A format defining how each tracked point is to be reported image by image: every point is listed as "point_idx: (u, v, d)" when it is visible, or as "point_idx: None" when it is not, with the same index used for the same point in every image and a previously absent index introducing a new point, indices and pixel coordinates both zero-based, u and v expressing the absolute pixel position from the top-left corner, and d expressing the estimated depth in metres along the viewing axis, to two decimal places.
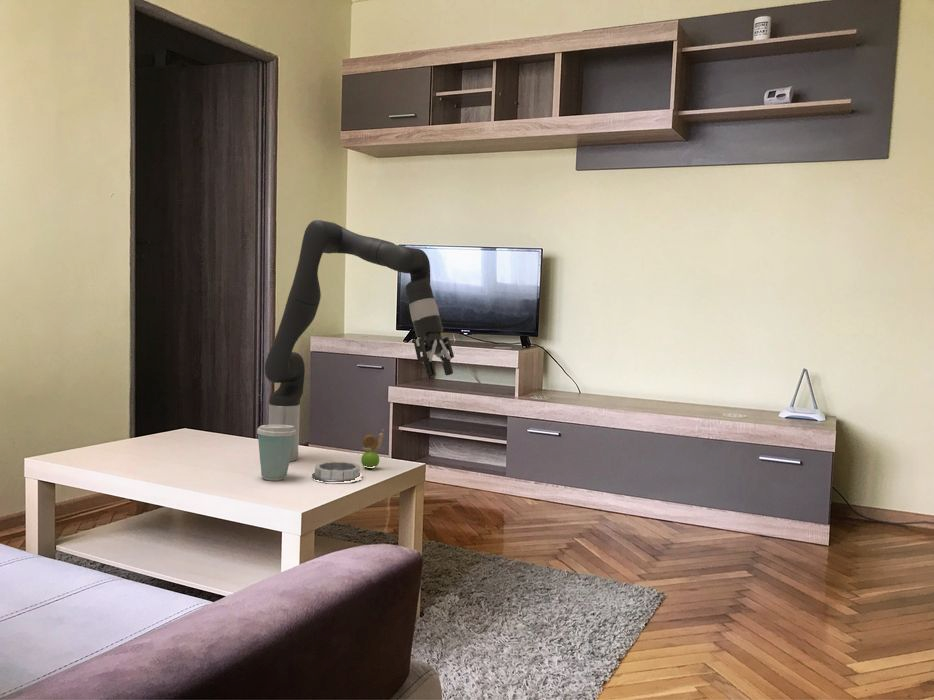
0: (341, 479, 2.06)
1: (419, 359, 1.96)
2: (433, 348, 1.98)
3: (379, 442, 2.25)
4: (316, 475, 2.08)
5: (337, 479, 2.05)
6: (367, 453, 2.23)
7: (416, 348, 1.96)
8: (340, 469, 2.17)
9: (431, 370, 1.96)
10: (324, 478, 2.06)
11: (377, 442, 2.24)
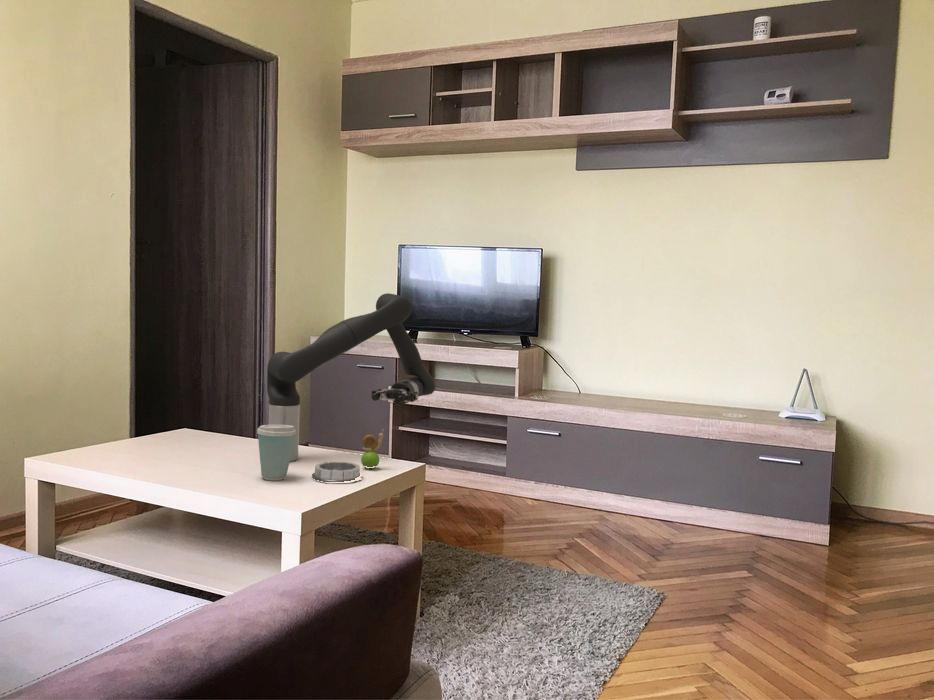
0: (341, 479, 2.06)
1: (413, 395, 2.37)
2: None
3: (379, 442, 2.25)
4: (316, 475, 2.08)
5: (337, 479, 2.05)
6: (367, 453, 2.23)
7: (416, 394, 2.40)
8: (340, 469, 2.17)
9: (403, 401, 2.34)
10: (324, 478, 2.06)
11: (377, 442, 2.24)
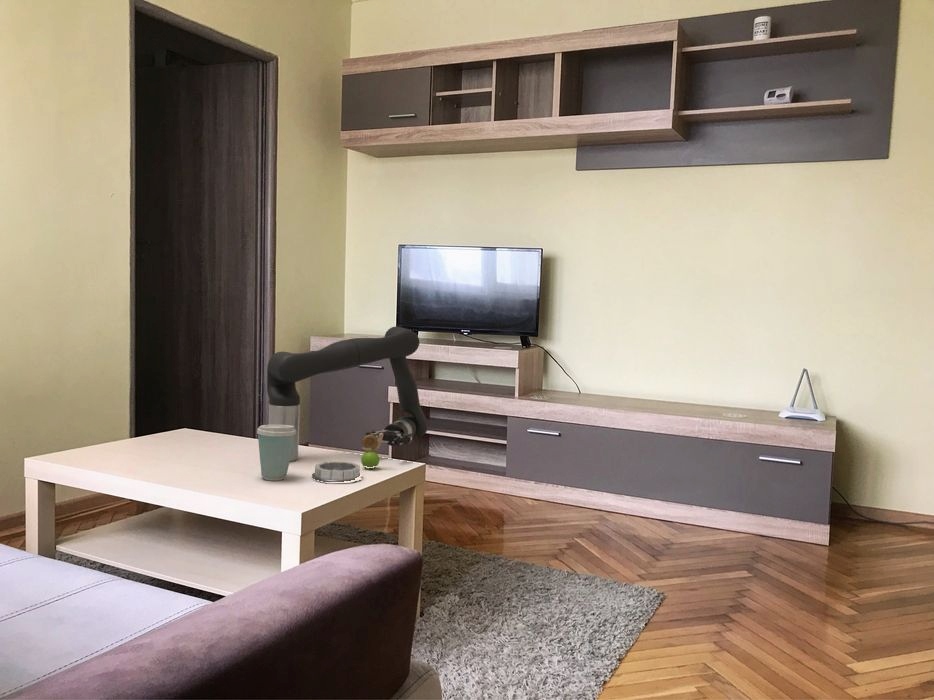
0: (341, 479, 2.06)
1: (408, 438, 2.36)
2: None
3: (379, 442, 2.25)
4: (316, 475, 2.08)
5: (337, 479, 2.05)
6: (367, 453, 2.23)
7: (410, 436, 2.39)
8: (340, 469, 2.17)
9: (398, 444, 2.33)
10: (324, 478, 2.06)
11: (377, 442, 2.24)
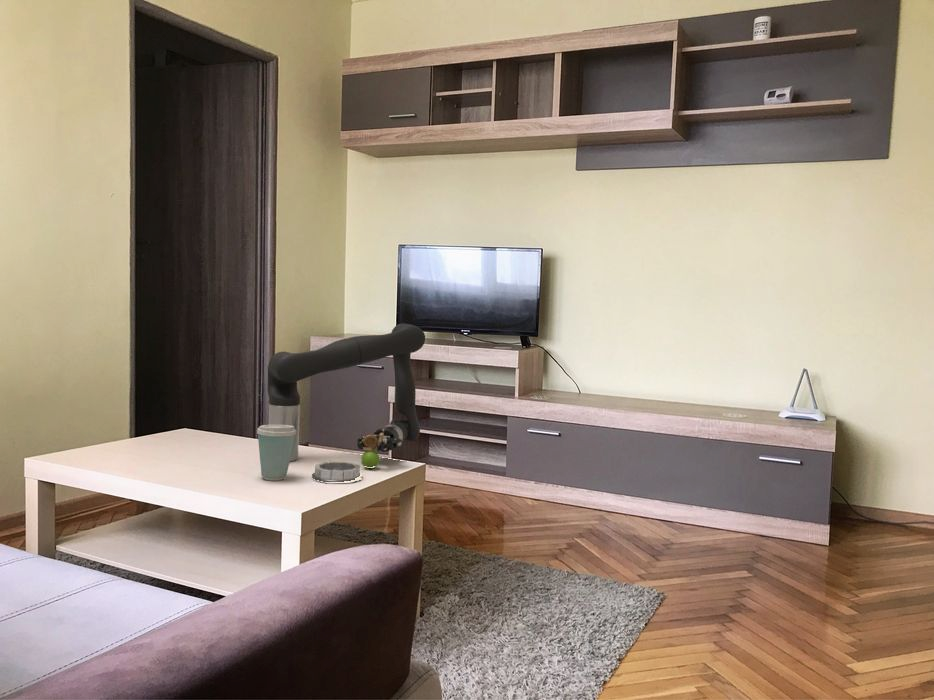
0: (341, 479, 2.06)
1: (392, 443, 2.25)
2: None
3: (379, 442, 2.24)
4: (316, 475, 2.08)
5: (337, 479, 2.05)
6: (367, 453, 2.23)
7: (398, 442, 2.28)
8: (340, 469, 2.17)
9: (382, 449, 2.23)
10: (324, 478, 2.06)
11: (377, 442, 2.24)
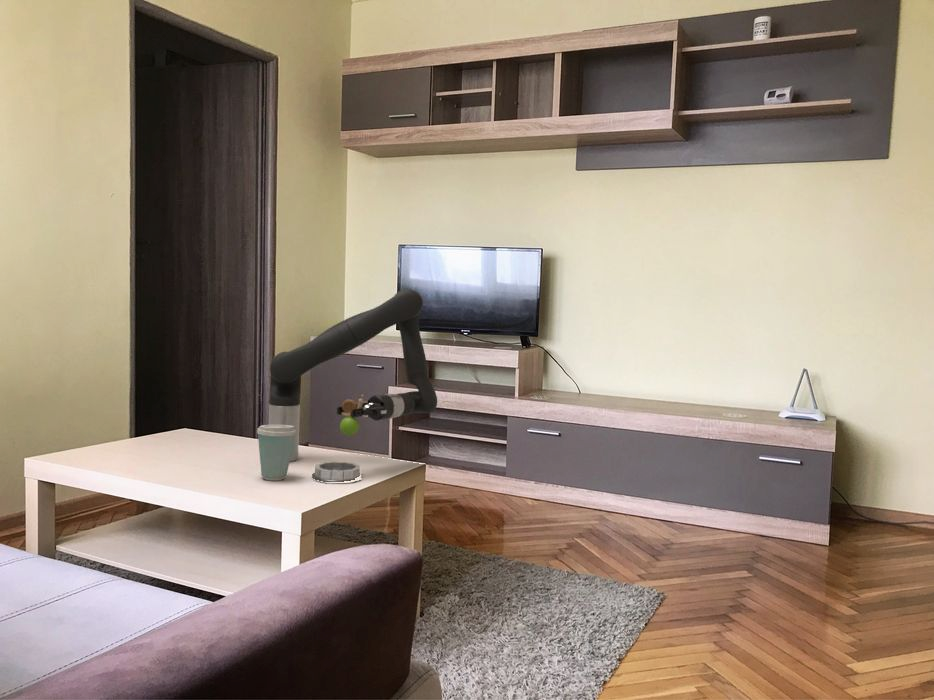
0: (341, 479, 2.06)
1: (371, 410, 2.12)
2: None
3: None
4: (316, 475, 2.08)
5: (337, 479, 2.05)
6: (345, 418, 2.13)
7: (380, 409, 2.14)
8: (340, 469, 2.17)
9: (357, 415, 2.11)
10: (324, 478, 2.06)
11: (356, 408, 2.13)
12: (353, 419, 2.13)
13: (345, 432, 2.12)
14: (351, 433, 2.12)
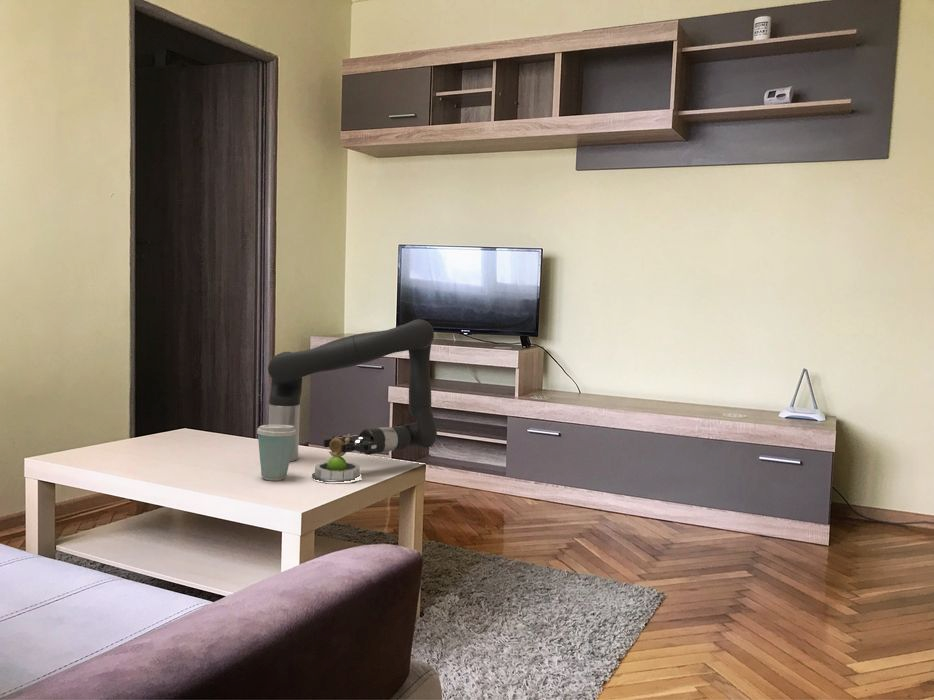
0: (341, 479, 2.06)
1: (362, 446, 2.08)
2: None
3: None
4: (316, 475, 2.08)
5: (337, 479, 2.05)
6: (331, 458, 2.11)
7: (370, 444, 2.10)
8: None
9: (347, 451, 2.07)
10: (324, 478, 2.06)
11: None
12: (339, 458, 2.10)
13: None
14: None
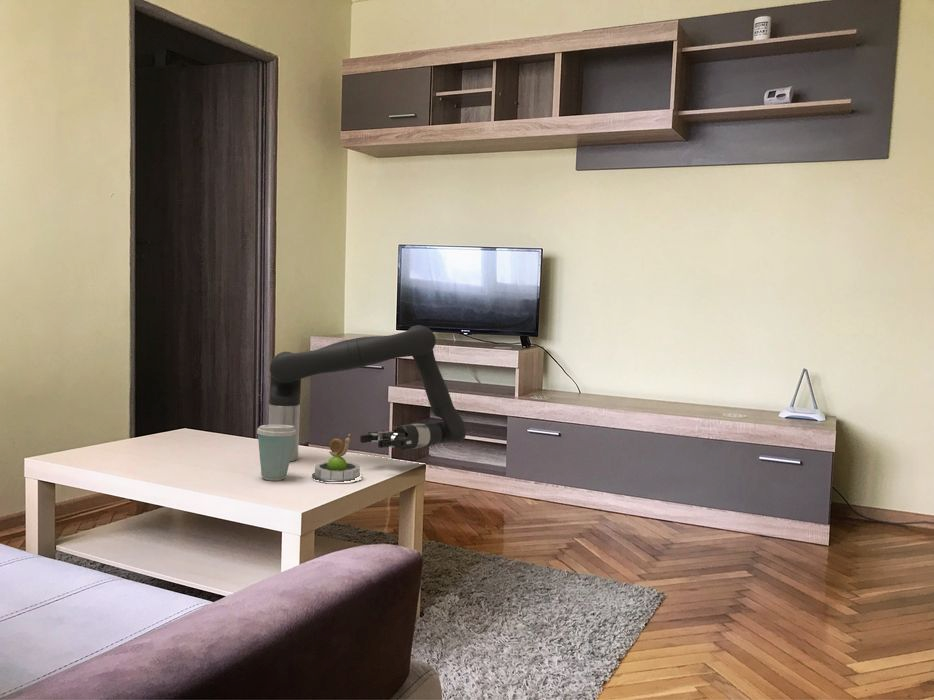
0: (341, 479, 2.06)
1: (398, 441, 2.17)
2: None
3: (344, 447, 2.10)
4: (316, 475, 2.08)
5: (337, 479, 2.05)
6: (332, 458, 2.11)
7: (406, 440, 2.20)
8: None
9: None
10: (324, 478, 2.06)
11: (342, 447, 2.10)
12: (340, 459, 2.10)
13: None
14: None
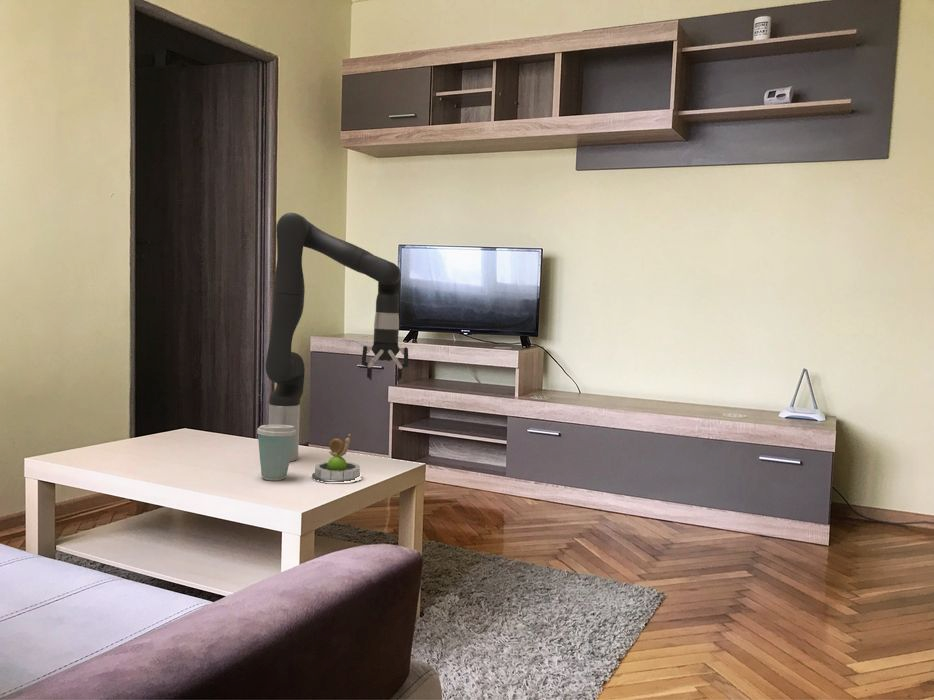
0: (341, 479, 2.06)
1: None
2: None
3: (344, 447, 2.10)
4: (316, 475, 2.08)
5: (337, 479, 2.05)
6: (332, 458, 2.11)
7: None
8: None
9: None
10: (324, 478, 2.06)
11: (342, 447, 2.10)
12: (340, 459, 2.10)
13: None
14: None
